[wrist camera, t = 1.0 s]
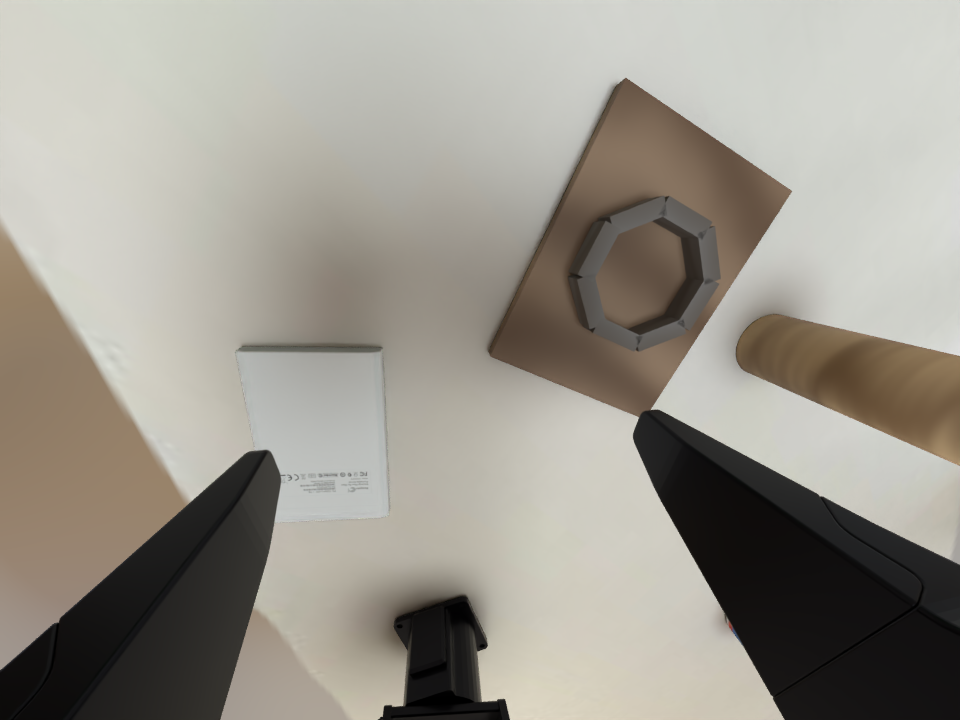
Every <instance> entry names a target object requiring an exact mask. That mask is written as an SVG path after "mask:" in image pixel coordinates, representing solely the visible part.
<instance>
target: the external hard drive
mask: <svg viewBox="0 0 960 720" xmlns="http://www.w3.org/2000/svg"><path fill="white" fill-rule="evenodd" d="M235 353H236V357H237V363H238V368H239V373H240V378H241V383H242V388H243V393H244V398H245V403H246V408H247V413H248V418H249V423H250V428H251V433H252V438H253V444H254V449H255V451H257V450H269V451H271V453H272V454H273V457H274V459H275V462H276V464H277V467H278V469H279V472H280V474H281V487H280V493H279V498H278V504H277V510H276V516H275V521H274V523H285V522H303V521H323V520H347V519H370V518H383V517H386V516H389V512H390V489H389V468H388V445H387V426H386V405H385V385H384V366H383V348H372V347H261V346H243V347H241V348H239V349H238V350H236V352H235Z"/></svg>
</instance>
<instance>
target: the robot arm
mask: <svg viewBox="0 0 960 720" xmlns="http://www.w3.org/2000/svg"><path fill="white" fill-rule="evenodd" d="M633 440H634V443H635V445H636V448H637V450H638V452H639V454H640V457H641V459H642V461H643V463H644V466H645V468H646V470H647V472H648V475H649V477H650V479H651V481H652V484H653V486H654V488H655V490H656V492H657V494H658V496H659V498H660V500H661V502H662V504H663V505H664V507H665V509H666V511H667V512H668V514H669V516H670V518H671V519H672V521H673V523H674V525H675V527H676V528H677V530H678V532H679V534H680V535H681V537H682V539H683V541H684V542H685V544H686V546H687V548H688V549H689V551H690V553H691V555H692V557H693V558H694V560H695V562H696V564H697V565H698V567H699V569H700V571H701V572H702V574H703V576H704V578H705V580H706V581H707V583H708V585H709V587H710V588H711V590H712V592H713V594H714V595H715V597H716V599H717V601H718V602H719V604H720V606H721V608H722V610H723V611H724V613H725V615H726V617H727V618H728V620H729V622H730V624H731V625H732V627H733V629H734V631H735V632H736V634H737V636H738V638H739V640H740V641H741V643H742V645H743V647H744V648H745V650H746V652H747V654H748V655H749V657H750V659H751V661H752V662H753V664H754V666H755V668H756V670H757V671H758V673H759V675H760V677H761V678H762V680H763V682H764V684H765V685H766V687H767V689H768V691H769V692H770V694H771V696H773V700H774V702H775V704H776V705H777V707H778V709H779V711H780V712H781V714H782V716H783V718H784V719H785V720H960V565H959V564H957V563H955V562H953V561H951V560H949V559H947V558H945V557H942V556H940V555H938V554H936V553H934V552H932V551H930V550H928V549H926V548H924V547H921V546H919V545H917V544H915V543H913V542H911V541H909V540H907V539H905V538H903V537H901V536H899V535H897V534H895V533H893V532H891V531H888V530H886V529H884V528H882V527H880V526H878V525H876V524H874V523H872V522H870V521H868V520H866V519H864V518H863V517H861V516H859V515H857V514H855V513H853V512H851V511H849V510H847V509H845V508H843V507H841V506H839V505H838V504H836V503H834V502H832V501H830V500H828V499H826V498H825V497H822V496H819V495H818V494H817V493H815V492H813V491H811V490H809V489H807V488H805V487H804V486H802V485H800V484H798V483H796V482H794V481H792V480H790V479H789V478H787V477H785V476H783V475H781V474H779V473H777V472H775V471H773V470H772V469H770V468H768V467H766V466H764V465H762V464H760V463H758V462H757V461H755V460H753V459H751V458H749V457H747V456H745V455H743V454H741V453H740V452H738V451H736V450H734V449H732V448H730V447H728V446H726V445H724V444H723V443H721V442H719V441H717V440H715V439H713V438H711V437H709V436H708V435H706V434H704V433H702V432H700V431H698V430H696V429H694V428H692V427H691V426H689V425H687V424H685V423H683V422H681V421H679V420H677V419H675V418H674V417H672V416H670V415H668V414H666V413H664V412H662V411H660V410H647V411H643V412H642V413H641V414H640V417H639V419H638V422H637V425H636V427H635V430H634V433H633ZM280 487H281V474H280V472H279V469H278V467H277V464H276V462H275V459H274V457H273V454H272V453H271V451H269V450H257V451H250V452H247V453H246V454H244V455H243V456H242V457H241V458H240V459H239V460H238V461H237V462H235V463H234V464H233V465H232V466H231V467H230V468H229V469H228V470H226V471H225V472H224V473H223V474H222V475H221V476H220V477H219V478H217V479H216V480H215V481H214V482H213V483H212V484H211V485H209V486H208V487H207V488H206V489H205V490H204V491H203V492H202V493H200V494H199V495H198V496H197V497H196V498H195V499H194V500H193V501H191V502H190V503H189V504H188V505H187V506H186V507H185V508H184V509H183V510H181V511H180V512H179V513H178V514H177V515H176V516H175V517H173V518H172V519H171V520H170V521H169V522H168V523H167V524H166V525H165V526H163V527H162V528H161V529H160V530H159V531H158V532H157V533H155V534H154V535H153V536H152V537H151V538H150V539H149V540H148V541H146V542H145V543H144V544H143V545H142V546H141V547H140V548H139V549H137V550H136V551H135V552H134V553H133V554H132V555H131V556H129V558H127V559H126V560H125V561H124V562H123V563H122V564H121V565H119V566H118V567H117V568H116V569H115V570H114V571H113V572H112V573H110V574H109V575H108V576H107V577H106V578H105V579H104V580H103V581H102V582H100V583H99V584H98V585H97V586H96V587H95V588H93V589H92V590H91V591H90V592H89V593H88V594H87V595H86V596H84V597H83V598H82V599H81V600H80V601H79V602H78V603H77V604H75V605H74V606H73V607H72V608H71V609H70V610H69V611H68V612H66V613H65V614H64V615H63V616H62V617H61V618H60V620H59V623H54V624H53V625H52V626H50V628H48V629H47V630H46V631H45V632H44V633H43V634H41V635H40V636H39V637H38V638H37V639H36V640H35V641H33V642H32V643H31V644H30V645H29V646H28V647H27V648H26V649H24V650H23V651H22V652H21V653H20V654H19V655H17V656H16V657H15V658H14V659H13V660H12V661H11V662H10V663H8V664H7V665H6V666H5V667H4V668H3V669H1V670H0V720H220V719H221V715H222V711H223V708H224V705H225V701H226V698H227V695H228V691H229V688H230V684H231V681H232V678H233V674H234V671H235V667H236V664H237V660H238V657H239V653H240V650H241V647H242V643H243V640H244V636H245V633H246V629H247V626H248V623H249V620H250V616H251V613H252V609H253V606H254V602H255V599H256V596H257V592H258V589H259V585H260V582H261V579H262V575H263V572H264V568H265V565H266V561H267V557H268V554H269V549H270V544H271V539H272V533H273V527H274V521H275V516H276V510H277V504H278V498H279V493H280ZM394 629H395V631H396V632H397V634H398V636H399V637H400V639H401V641H402V642H403V644H404V645H405V647H406V649H407V650H408V652H407V665H406V678H405V691H404V704H403V706H399V707H392V705H385V706H384V711H383V717H380V719H378V720H510V718H509V714H508V710H507V705H506V701H505V699H498V700H497V701H488V702H482V700H481V689H480V678H479V667H478V656H477V651H480V650H483V649H486V648H487V646H488V644H487V639H486V636H485V634H484V632H483V630H482V628H481V626H480V624H479V621H478V619H477V617H476V615H475V613H474V611H473V609H472V606H471V604H470V602H469V600H468V598H466V597H459V598H456V599H453V600H450V601H447V602H444V603H441V604H438V605H435V606H432V607H429V608H426V609H423V610H420V611H417V612H414V613H411V614H408V615H405V616H402V617H399V618H396V619H395V621H394Z"/></svg>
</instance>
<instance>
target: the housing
mask: <svg viewBox="0 0 960 720" xmlns="http://www.w3.org/2000/svg"><path fill="white" fill-rule="evenodd" d="M791 192H792V191H791V190H790V189H788V188H787V187H785V186H784V185H782V184H781V183H779V182H778V181H776V180H775V179H774V178H772V177H771V176H769V175H768V174H766V173H765V172H763V171H762V170H760V169H759V168H757V167H756V166H754V165H753V164H752V163H750V162H749V161H747V160H746V159H744V158H743V157H741V156H740V155H738V154H737V153H735V152H734V151H732V150H731V149H730V148H728V147H727V146H725V145H724V144H722V143H721V142H719V141H718V140H716V139H715V138H713V137H712V136H710V135H709V134H708V133H706V132H705V131H703V130H702V129H700V128H699V127H697V126H696V125H694V124H693V123H691V122H690V121H688V120H687V119H685V118H684V117H683V116H681V115H680V114H678V113H677V112H675V111H674V110H672V109H671V108H669V107H668V106H666V105H665V104H663V103H662V102H661V101H659V100H658V99H656V98H655V97H653V96H652V95H650V94H649V93H647V92H646V91H644V90H643V89H641V88H640V87H639V86H637V85H636V84H634V83H633V82H631V81H630V80H628V79H627V78H625V79H624V80H623V81H621V82H620V83H619V84H618V85H617V86H616V87H615V90H614V92H613V94H612V96H611V98H610V100H609V102H608V104H607V106H606V108H605V110H604V112H603V114H602V117H601V119H600V121H599V123H598V125H597V127H596V129H595V131H594V133H593V135H592V137H591V139H590V141H589V144H588V146H587V148H586V150H585V152H584V154H583V156H582V158H581V160H580V162H579V164H578V166H577V168H576V171H575V173H574V175H573V177H572V179H571V181H570V183H569V185H568V187H567V189H566V191H565V193H564V195H563V198H562V200H561V202H560V204H559V206H558V208H557V210H556V212H555V214H554V216H553V218H552V220H551V222H550V224H549V227H548V229H547V231H546V233H545V235H544V237H543V239H542V241H541V243H540V245H539V247H538V249H537V251H536V254H535V256H534V258H533V260H532V262H531V264H530V266H529V268H528V270H527V272H526V274H525V276H524V278H523V281H522V283H521V285H520V287H519V289H518V291H517V293H516V295H515V297H514V299H513V301H512V303H511V305H510V308H509V310H508V312H507V314H506V316H505V318H504V320H503V322H502V324H501V326H500V328H499V330H498V332H497V335H496V337H495V339H494V341H493V343H492V345H491V347H490V349H489V351H488V352H489V354H490V356H491V357H493V358H495V359H498V360H500V361H503V362H505V363H508V364H510V365H513V366H515V367H518V368H520V369H522V370H525V371H527V372H530V373H532V374H535V375H537V376H540V377H542V378H544V379H547V380H549V381H552V382H554V383H557V384H559V385H562V386H564V387H567V388H569V389H571V390H574V391H576V392H579V393H581V394H584V395H586V396H589V397H591V398H594V399H596V400H598V401H601V402H603V403H606V404H608V405H611V406H613V407H616V408H618V409H621V410H623V411H625V412H628V413H630V414H633V415H635V416H638V417H640V414H641V413H642V412H643V411H647V410H651V408H652V407H653V405H654V403H655V402H656V400H657V399H658V397H659V396H660V394H661V393H662V391H663V390H664V388H665V387H666V385H667V383H668V382H669V380H670V379H671V377H672V376H673V374H674V373H675V371H676V370H677V368H678V366H679V365H680V363H681V362H682V360H683V359H684V357H685V356H686V354H687V353H688V351H689V349H690V348H691V346H692V345H693V343H694V342H695V340H696V339H697V337H698V336H699V334H700V333H701V331H702V329H703V328H704V326H705V325H706V323H707V322H708V320H709V319H710V317H711V316H712V314H713V312H714V311H715V309H716V308H717V306H718V305H719V303H720V302H721V300H722V299H723V297H724V296H725V294H726V292H727V291H728V289H729V288H730V286H731V285H732V283H733V282H734V280H735V279H736V277H737V275H738V274H739V272H740V271H741V269H742V268H743V266H744V265H745V263H746V262H747V260H748V259H749V257H750V255H751V254H752V252H753V251H754V249H755V248H756V246H757V245H758V243H759V242H760V240H761V238H762V237H763V235H764V234H765V232H766V231H767V229H768V228H769V226H770V225H771V223H772V221H773V220H774V218H775V217H776V215H777V214H778V212H779V211H780V209H781V208H782V206H783V205H784V203H785V201H786V200H787V198H788V197H789V195H790V194H791Z"/></svg>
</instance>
